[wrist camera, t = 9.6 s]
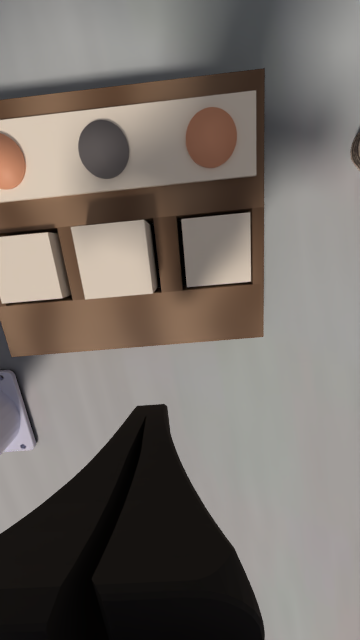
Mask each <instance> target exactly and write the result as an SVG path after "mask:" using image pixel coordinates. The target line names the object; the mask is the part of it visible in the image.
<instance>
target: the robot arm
mask: <svg viewBox="0 0 360 640" xmlns="http://www.w3.org/2000/svg"><path fill="white" fill-rule="evenodd" d="M1 375H2V376H3V377H4V378H2V377H1ZM35 446H36V441H35V438H34V435H33V431H32V428H31V425H30V422H29V418H28V415H27V412H26V409H25V405H24V402H23V399H22V396H21V392H20V389H19V386H18V383H17V379H16V376H15V374H14V372H13V371H11V370H0V455H1V454H2V453H3V452H11V451H27V450H33V449H34V447H35ZM264 637H265V632H264V625H263V620H262V616H261V613H260V610H259V606H258V603H257V600H256V598H255V595H254V592H253V590H252V587H251V585H250V582H249V580H248V578H247V575H246V573H245V571H244V569H243V566H242V564H241V562H240V560H239V558H238V556H237V553H236V551H235V549H234V547H233V546H232V545H231V543H230V542H229V541H228V539H227V538H226V537H225V535H224V534H223V532H222V531H221V530H220V528H219V527H218V526H217V524H216V523H215V521H214V520H213V518H212V517H211V515H210V514H209V512H208V511H207V509H206V508H205V506H204V504H203V503H202V501H201V499H200V498H199V496H198V494H197V492H196V491H195V489H194V487H193V486H192V484H191V482H190V480H189V478H188V476H187V474H186V472H185V470H184V468H183V466H182V464H181V461H180V459H179V457H178V454H177V452H176V449H175V446H174V443H173V441H172V437H171V434H170V426H169V418H168V410H167V406H166V405H165V404H159V405H145V406H137V407H136V408H135V409H134V410H133V411H132V413H131V414H130V415H129V417H128V418H127V419H126V421H125V422H124V423H123V424H122V426H121V427H120V428H119V429H118V431H117V432H116V433H115V434H114V436H113V437H112V438H111V439H110V440H109V442H108V443H107V444H106V445H105V446H104V447H103V448H102V449H101V450H100V452H99V453H98V454H97V455H96V456H95V457H94V458H93V459H92V460H91V461H90V462H89V463H88V464H87V465H86V466H85V467H84V468H83V469H82V470H81V471H80V472H79V473H78V474H77V475H76V476H75V477H74V478H72V479H71V480H70V481H69V482H68V483H67V484H66V485H64V486H63V487H62V488H61V489H60V490H58V491H57V492H56V493H55V494H53V495H52V496H51V497H50V498H49V499H47V500H46V501H45V502H44V503H43V504H41V505H40V506H39V507H37V508H36V509H35V510H33V511H32V512H31V513H29V514H28V515H27V516H25V517H24V518H22V519H21V520H20V521H18V522H17V523H15V524H14V525H13V526H11V527H10V528H8V529H7V530H5V531H4V532H3V533H1V534H0V640H264Z"/></svg>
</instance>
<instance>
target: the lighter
mask: <svg viewBox="0 0 360 640" xmlns="http://www.w3.org/2000/svg"><path fill="white" fill-rule="evenodd" d="M351 159H352V161H353V163H354V165H355V166H356V167H357V168H358V170H359V171H360V132H359V133H358V134H357V136H356V137H355V139H354V141H353V143H352V147H351Z"/></svg>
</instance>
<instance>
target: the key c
mask: <svg viewBox="0 0 360 640" xmlns="http://www.w3.org/2000/svg"><path fill="white" fill-rule="evenodd" d="M181 222H182V235H183V247H184V259H185V271H186V283H187V287H196V286H207V285H218V284H229V283H241V282H251V231H250V212H248V213H238V214H228V215H218V216H208V217H198V218H187V219H181Z"/></svg>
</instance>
